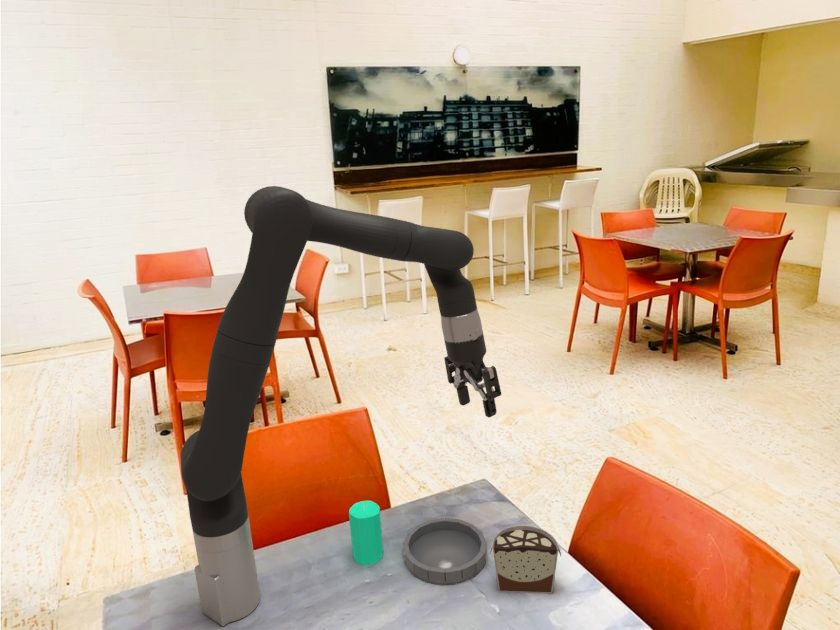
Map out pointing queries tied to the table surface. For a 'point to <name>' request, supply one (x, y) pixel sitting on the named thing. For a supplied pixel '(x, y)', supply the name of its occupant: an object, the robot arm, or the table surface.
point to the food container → (525, 560)
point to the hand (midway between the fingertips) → (477, 409)
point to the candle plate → (445, 551)
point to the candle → (366, 532)
